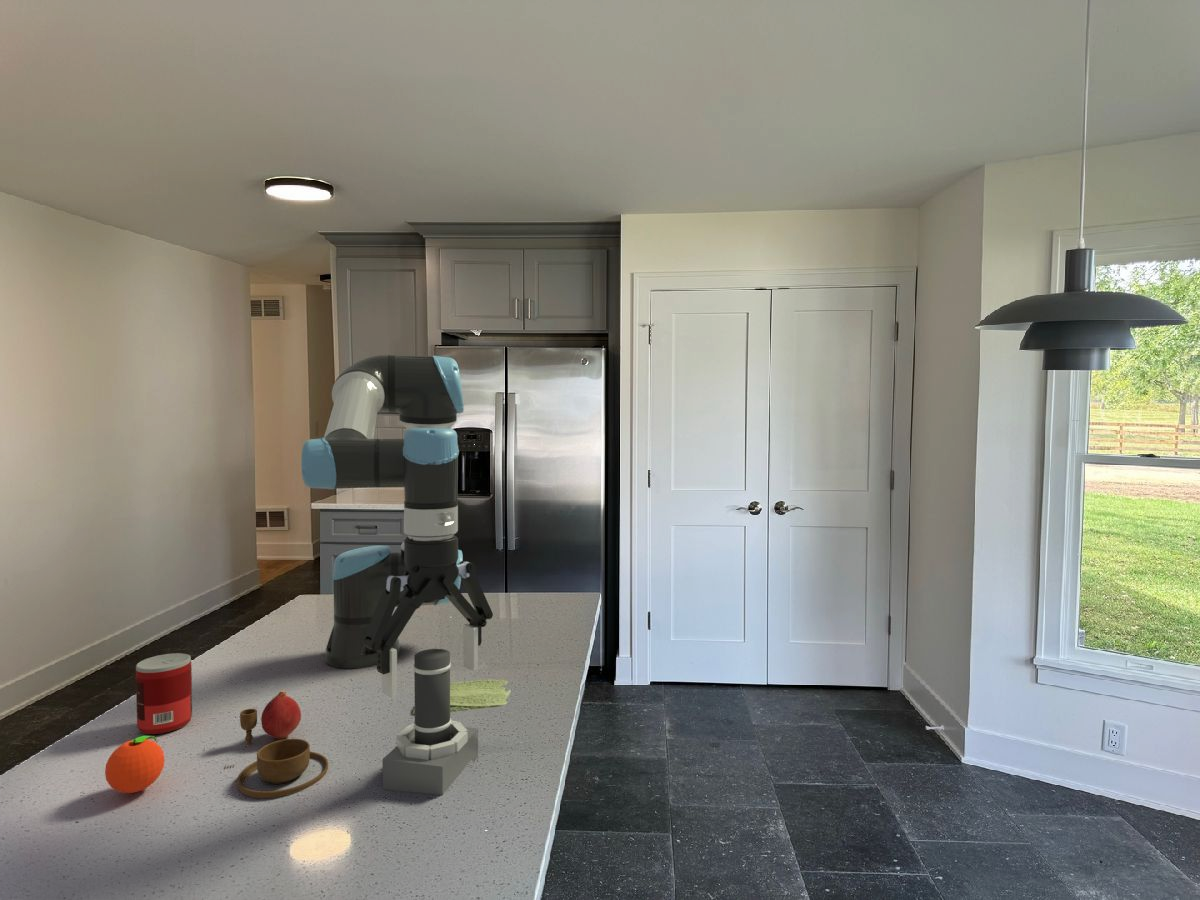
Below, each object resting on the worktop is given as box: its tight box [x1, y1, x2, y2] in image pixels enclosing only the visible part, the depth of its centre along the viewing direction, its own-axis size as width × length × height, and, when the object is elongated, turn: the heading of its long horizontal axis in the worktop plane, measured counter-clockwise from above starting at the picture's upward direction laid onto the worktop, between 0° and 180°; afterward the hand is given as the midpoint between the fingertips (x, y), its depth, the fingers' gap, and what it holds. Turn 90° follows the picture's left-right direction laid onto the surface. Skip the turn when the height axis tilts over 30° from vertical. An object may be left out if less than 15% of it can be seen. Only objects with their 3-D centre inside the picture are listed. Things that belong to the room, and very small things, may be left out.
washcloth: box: [412, 678, 511, 716], centre depth 126 cm, size 13×18×3 cm
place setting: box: [223, 708, 329, 800], centre depth 104 cm, size 18×20×6 cm
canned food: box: [135, 652, 193, 735], centre depth 117 cm, size 8×8×11 cm
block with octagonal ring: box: [382, 719, 479, 796], centre depth 101 cm, size 12×9×6 cm
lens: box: [413, 648, 452, 746], centre depth 100 cm, size 5×5×13 cm
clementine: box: [104, 735, 166, 794], centre depth 97 cm, size 8×7×7 cm
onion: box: [260, 690, 302, 740], centre depth 112 cm, size 6×6×8 cm
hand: (432, 680), depth 100 cm, fingers open, 13 cm apart
